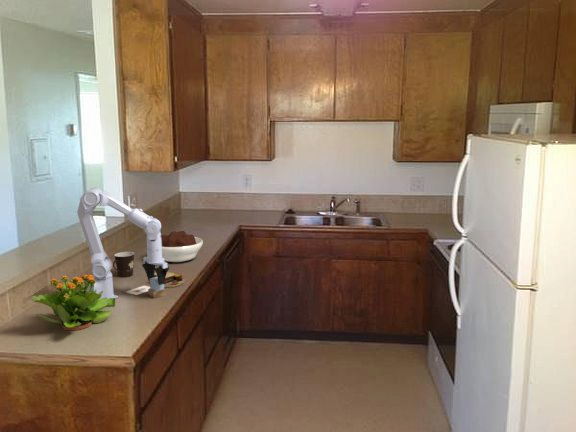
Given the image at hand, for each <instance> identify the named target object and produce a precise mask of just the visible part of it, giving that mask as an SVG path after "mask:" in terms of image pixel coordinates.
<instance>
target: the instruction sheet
mask: <svg viewBox="0 0 576 432" xmlns="http://www.w3.org/2000/svg"><path fill="white" fill-rule="evenodd" d="M148 289H150V286H147V285H141V286H139V287H136V288H133V289H132V288H131V289H129V290H127V291H125V293H127V294H131V295H135V296H138V295H140V294H144V293H146V292H147V293H148Z"/></svg>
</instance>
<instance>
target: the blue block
mask: <svg viewBox="0 0 576 432" xmlns="http://www.w3.org/2000/svg"><path fill="white" fill-rule="evenodd" d="M149 287H150V289H151V290H154V291H159V290H163V289H165V288H164V284H162V285H159V283H158V278H157V277H154V278H150V281H149Z"/></svg>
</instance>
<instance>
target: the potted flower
mask: <svg viewBox="0 0 576 432" xmlns="http://www.w3.org/2000/svg"><path fill="white" fill-rule="evenodd" d="M93 278H94V276H93V275H92V274H90V275H87V274H82V275H81V276H80V277H78V276H75V277H73V278H72V279H70V281H69V277H68V276H67V275H64V276H63V275H62V277H61V281H62V282H60V280H58V279H57V278H52V279H50V285H51V286H54V288H55V292H54V293H51V294H50V293H45V294H44V295H43V294H38V295H37V296H36V295H33V296H32V297H31V298H32V300H33V301H34V302H35V303H41V304H43V305H46V306H48V307H50V308H51V310H52V311H53V313H54V314H50V315H51V316H57V317H58V318H59V319H60V320H57V319H54V318H50V317H49V316H45V315H42V314H38V313H35V315H36V316H38V317H40V318H41V319H43V320H45V321H48V322H50V323H54V324H57V325H58V324H60V325H61V327H62V329H63V330H64V331H80V330H84V329H86V328H89V327H91V325H92V324H93V323H94V324H98V323H99V324H100V323H102V322H105V321H106V320H107V319H108V318H109V317H110V315H112V311H110V310H103V309H105V308H115V305H116V298H109V299H108V298H107V297H105V298H102V299H101V296H102V294H103V291H101V292H100V293H98V294H97V293H95V292H96V291H97V290H95V291H94V289H93V290H92V286H93V287H94V284H95V283H96V281H95V280H94V279H93ZM87 283H89V284H87ZM90 285H91V286H90ZM88 286H90V291H89V292H87V288H88ZM91 290H92V292H91ZM59 292H60V293H59ZM93 292H94V293H93Z"/></svg>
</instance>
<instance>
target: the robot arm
mask: <svg viewBox="0 0 576 432" xmlns="http://www.w3.org/2000/svg"><path fill="white" fill-rule="evenodd" d="M98 206H99V207H102V206H105V207H106V206H108V207H111V208H113V209H114V210H116V211H117V212H119V213H121V214H123V215H125V216H127V219H128V221H129V223H132V224H134V225H135V226H137V227H138V228H140V229H142V230H144V232H145V234H146V254H147V256H144V257H143V259H142V260H143V263H142V264H141V266H142V268H143V269H144V271H145V274H146V277H147V279H148V281H149V282H150V278H154V273H156V274H157V278H158V283H159V285H162V284H164V282H165V278H166V274H167V272H169V270H170V267H169V266H168V262H167V261H164V260H165V259H164V258H162V242H161V235H162V233H161V229H162V223H161V221H160V220H159V219H158V218H155V217H154V216H152V215H148V214H147V213H145V212H144V210H143V209H142V208H131V207H130V206H128V205H127V204H125V203H124V202H123V201H121V200H120V199H119V198H117V197H115V196H114V195H112V194H111V193H109V192H108V191H106V190H103V189H102V188H100V187H97V186H96V187H95V186H94V187H92V188H90V189H89V190H86V191H85V192H84V193H83V194H82V195H81V196H80V198H79V205H78V208H77V211H76V212H77V217H78V220H79V224H80V226H81V228H82V233H83V235H84V238H85V241H86V244H87V248H88V250H89V253H90V263H91V264H90V265H91V275H93V276H94V278H93V279H94V280H95V281H96V283H95V284H94V287H93V286H92V290H93V289H94V291H95V290H97V291H96V292H95V293H97V294H98V293H100V292H101V291H103V294H102V296H101V299H102V298H105V297H107V298H108V299H109V298H115V299H117V298H119V296H118V295H116V294H115V293H114V281H113V280H114V279H113V273H112V272H111V270H112V269H113V268H114V267H113V261H112V260H111V259H110V258H109V256H108V253H107V252H106V251H105V249H104V247H103V244H102V240H101V238H100V235H99V231H98V227H97V225H96V221H95V219H94V215H93V213H94V211H95V209H96V208H97V207H98ZM156 266H157V267H156ZM87 284H89V283H87ZM90 286H91V285H90ZM90 286H88V288H87V291H86V292H89V291H90ZM92 290H91V292H92ZM93 293H94V292H93Z"/></svg>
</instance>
